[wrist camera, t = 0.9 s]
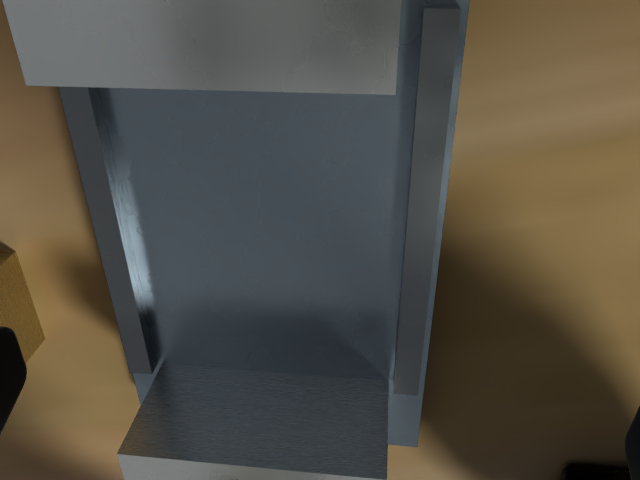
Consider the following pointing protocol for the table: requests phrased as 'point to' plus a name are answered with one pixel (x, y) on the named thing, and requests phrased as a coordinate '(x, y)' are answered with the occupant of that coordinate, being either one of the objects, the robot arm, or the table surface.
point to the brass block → (18, 305)
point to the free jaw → (209, 44)
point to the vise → (275, 261)
